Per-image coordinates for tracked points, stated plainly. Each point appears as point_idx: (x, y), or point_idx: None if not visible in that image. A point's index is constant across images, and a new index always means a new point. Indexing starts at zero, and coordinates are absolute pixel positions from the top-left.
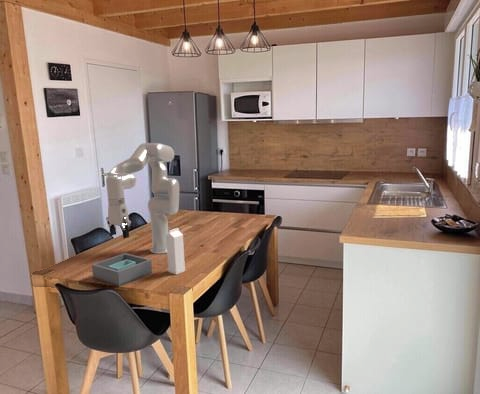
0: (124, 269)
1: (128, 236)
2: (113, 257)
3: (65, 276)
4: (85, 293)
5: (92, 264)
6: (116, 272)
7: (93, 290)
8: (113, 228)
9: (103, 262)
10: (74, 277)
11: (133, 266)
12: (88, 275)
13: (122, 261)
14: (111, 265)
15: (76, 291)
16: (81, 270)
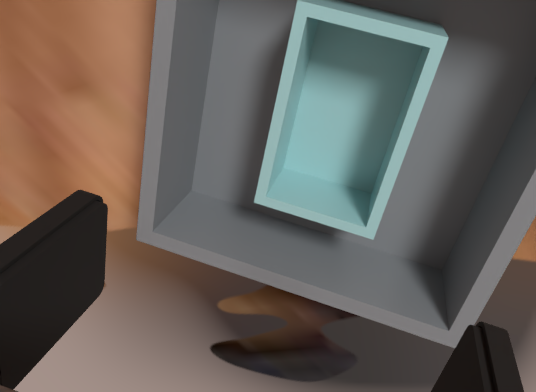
0: (481, 295)
1: (498, 344)
2: (162, 40)
3: (18, 202)
4: (307, 371)
5: (139, 238)
6: (437, 337)
7: (321, 338)
8: (18, 323)
9: (164, 156)
10: None
11: (533, 218)
12: (117, 159)
13: (295, 65)
14: (269, 183)
15: (243, 356)
16: (5, 94)
